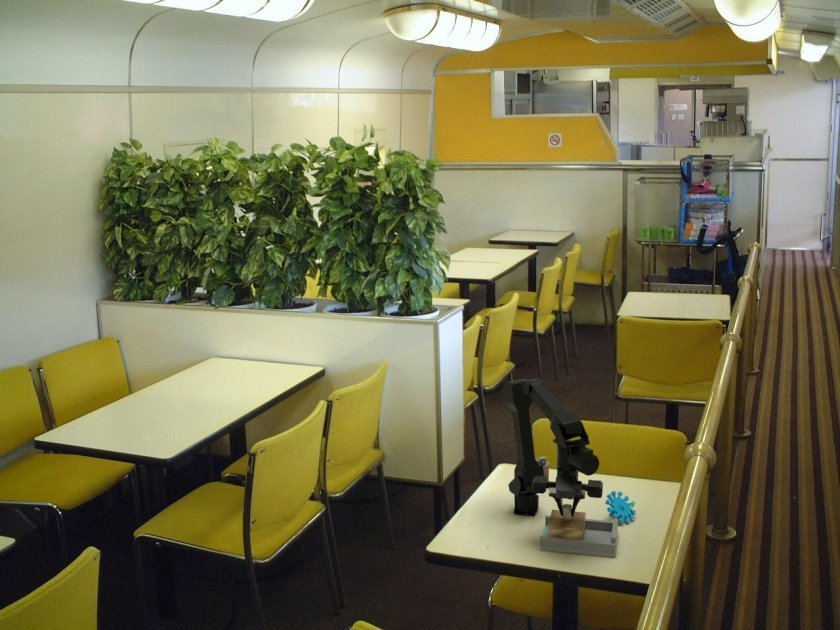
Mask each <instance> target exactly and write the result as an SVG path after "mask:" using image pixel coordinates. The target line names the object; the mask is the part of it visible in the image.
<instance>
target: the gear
mask: <svg viewBox="0 0 840 630" xmlns="http://www.w3.org/2000/svg"><path fill="white" fill-rule="evenodd" d="M623 495H624V494H623V492H622V491H618V492H617V491H616V490H612V491H611V492H610V493H608V494H607V495H606V498H607V499H605V504H606V505H608V507H606V510H607V512H608V515H609V516H610V517H611V518H612V519H613V518H617V519H618V523H620V524H623V523H624V524H626V525H627V524H630V523H631V522H632V521H634V520H635V515H636V510H634V509H633V508H634V506H635V505H636V501H635V500H633V501H632V500H631V502H628V501H630V497H629V496H628V495H625V496H624V497H622V496H623ZM621 497H622V498H621ZM618 516H619V518H618ZM624 519H625V520H624Z"/></svg>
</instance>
